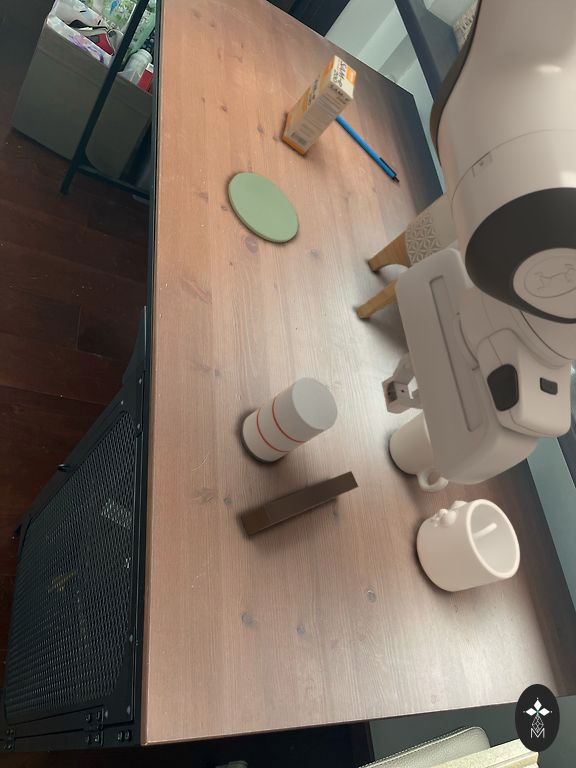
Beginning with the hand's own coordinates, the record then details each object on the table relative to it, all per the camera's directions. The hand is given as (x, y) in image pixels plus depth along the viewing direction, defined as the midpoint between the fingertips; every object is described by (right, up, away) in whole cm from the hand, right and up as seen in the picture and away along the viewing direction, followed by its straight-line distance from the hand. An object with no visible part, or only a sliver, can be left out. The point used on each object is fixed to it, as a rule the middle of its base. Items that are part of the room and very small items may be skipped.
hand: (389, 399), depth 58 cm
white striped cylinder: (-10, -8, +13) cm, 18 cm away
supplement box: (-8, +44, +48) cm, 66 cm away
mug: (+11, -21, +24) cm, 33 cm away
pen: (+5, +47, +61) cm, 77 cm away
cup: (+7, -10, +27) cm, 30 cm away
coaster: (-13, +27, +33) cm, 45 cm away
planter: (+8, +13, +43) cm, 45 cm away
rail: (-9, -13, +12) cm, 20 cm away
